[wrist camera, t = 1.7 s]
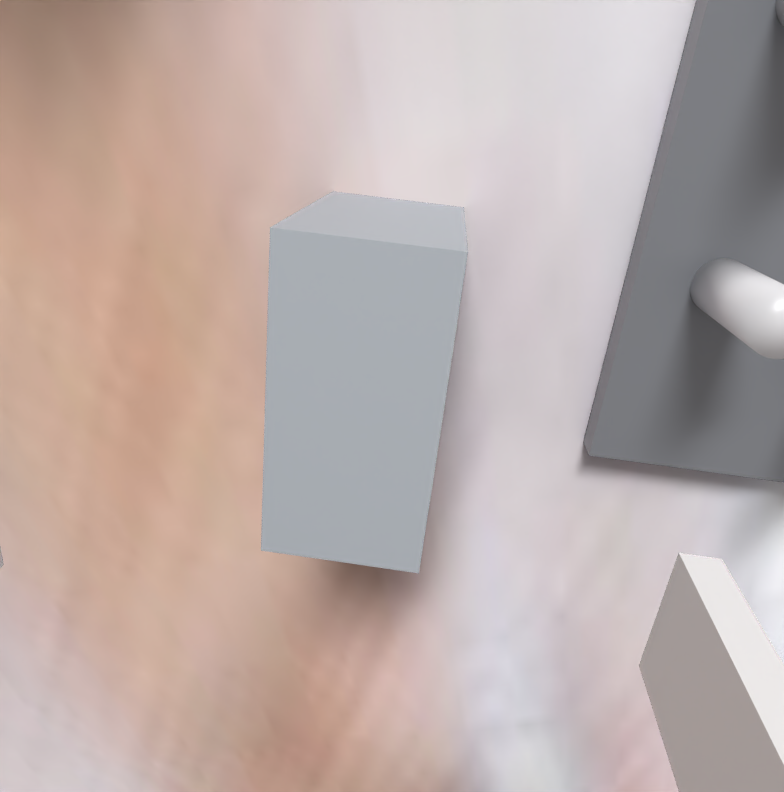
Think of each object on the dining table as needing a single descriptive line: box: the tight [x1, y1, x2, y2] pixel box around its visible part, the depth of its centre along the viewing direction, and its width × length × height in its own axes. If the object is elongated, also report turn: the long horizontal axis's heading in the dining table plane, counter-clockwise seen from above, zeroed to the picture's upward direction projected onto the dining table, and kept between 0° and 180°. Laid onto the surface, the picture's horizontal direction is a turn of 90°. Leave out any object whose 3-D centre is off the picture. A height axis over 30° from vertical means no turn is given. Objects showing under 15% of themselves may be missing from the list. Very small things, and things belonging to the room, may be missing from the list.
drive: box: [261, 191, 468, 573], centre depth 22 cm, size 5×10×9 cm, turn 174°
